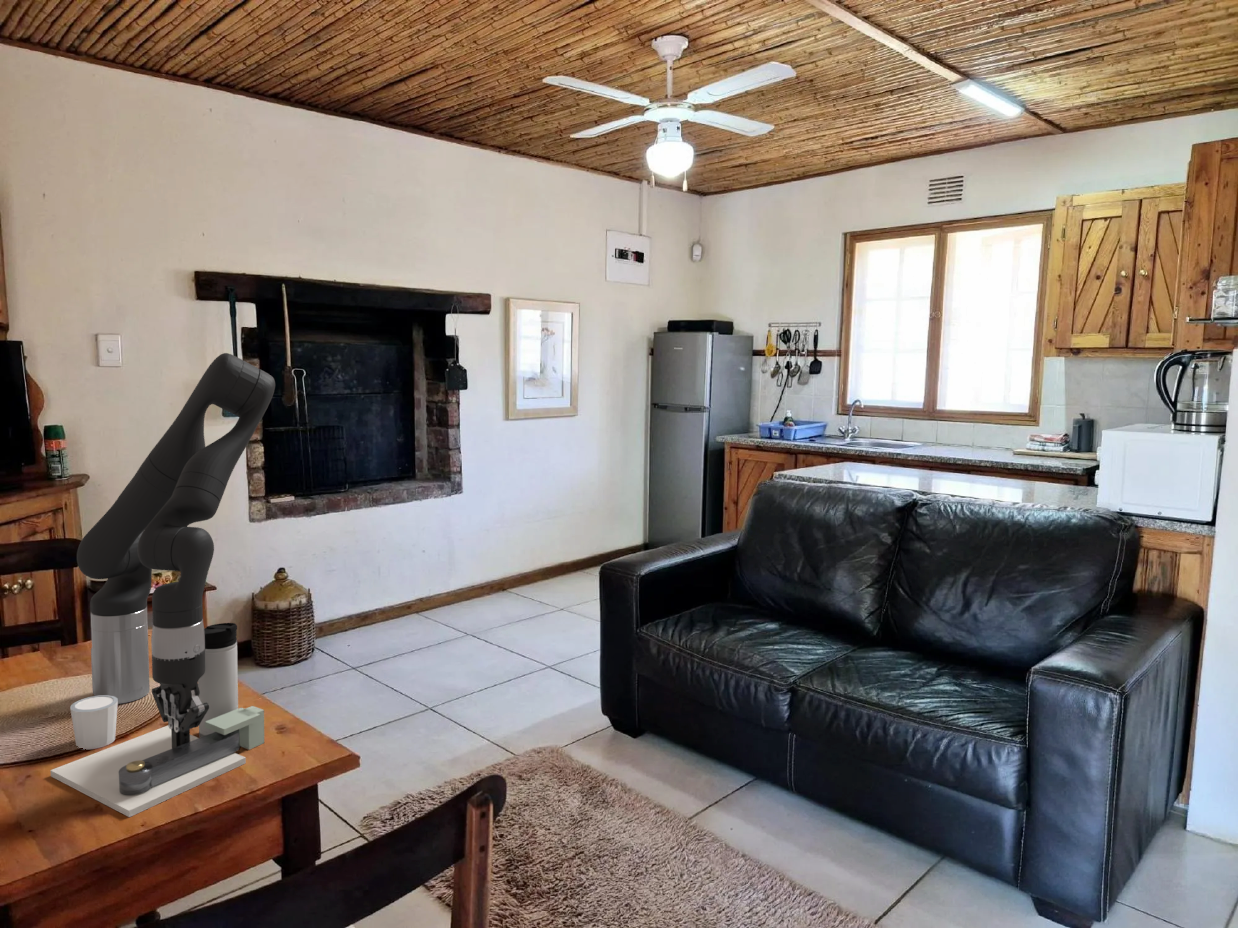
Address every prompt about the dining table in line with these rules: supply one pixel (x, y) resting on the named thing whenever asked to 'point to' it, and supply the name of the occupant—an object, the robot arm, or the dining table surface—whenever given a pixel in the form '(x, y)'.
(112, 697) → the white cup
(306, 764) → the dining table surface
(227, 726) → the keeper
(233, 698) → the travel mug
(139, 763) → the link
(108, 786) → the base plate
